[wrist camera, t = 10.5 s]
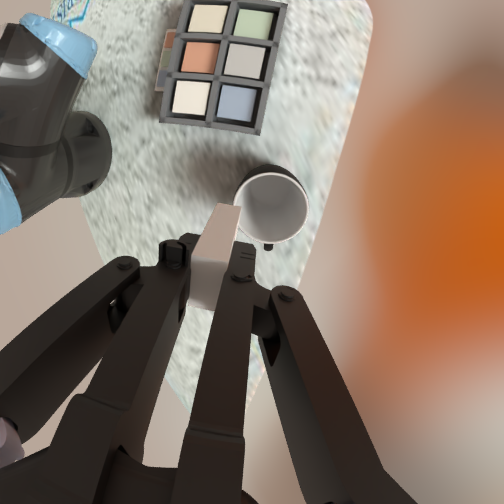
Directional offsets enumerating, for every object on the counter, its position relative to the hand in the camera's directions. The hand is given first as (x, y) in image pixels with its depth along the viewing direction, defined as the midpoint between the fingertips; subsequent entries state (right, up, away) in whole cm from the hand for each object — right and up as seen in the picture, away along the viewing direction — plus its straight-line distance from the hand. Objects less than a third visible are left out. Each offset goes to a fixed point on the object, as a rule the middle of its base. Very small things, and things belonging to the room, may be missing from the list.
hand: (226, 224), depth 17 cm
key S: (-4, +30, +10) cm, 31 cm away
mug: (+4, +7, +24) cm, 25 cm away
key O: (-6, +19, +15) cm, 25 cm away
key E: (+2, +29, +11) cm, 31 cm away
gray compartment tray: (-4, +25, +14) cm, 29 cm away
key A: (0, +19, +16) cm, 25 cm away
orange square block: (-5, +25, +13) cm, 29 cm away
